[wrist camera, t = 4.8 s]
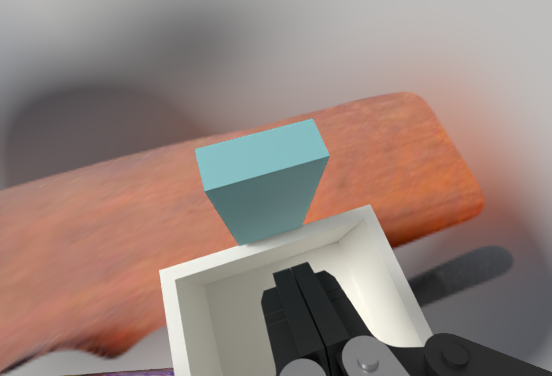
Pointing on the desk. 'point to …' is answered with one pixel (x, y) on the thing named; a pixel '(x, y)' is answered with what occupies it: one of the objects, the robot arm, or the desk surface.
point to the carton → (258, 277)
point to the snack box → (136, 373)
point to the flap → (264, 179)
